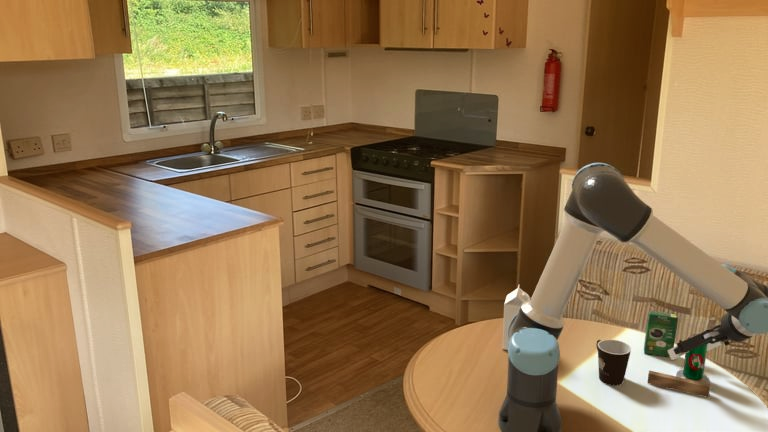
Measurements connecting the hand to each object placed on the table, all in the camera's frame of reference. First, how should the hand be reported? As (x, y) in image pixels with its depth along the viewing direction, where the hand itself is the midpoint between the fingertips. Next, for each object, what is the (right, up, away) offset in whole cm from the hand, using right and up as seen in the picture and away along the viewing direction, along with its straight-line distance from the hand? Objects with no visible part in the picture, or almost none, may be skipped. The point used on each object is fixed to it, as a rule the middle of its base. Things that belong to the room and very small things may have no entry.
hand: (687, 351), depth 176 cm
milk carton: (-44, -3, +19) cm, 48 cm away
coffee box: (-2, -4, +14) cm, 14 cm away
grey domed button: (+1, -8, 0) cm, 8 cm away
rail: (-5, -9, -5) cm, 11 cm away
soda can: (+1, -7, -1) cm, 7 cm away
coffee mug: (-21, -8, +2) cm, 22 cm away
